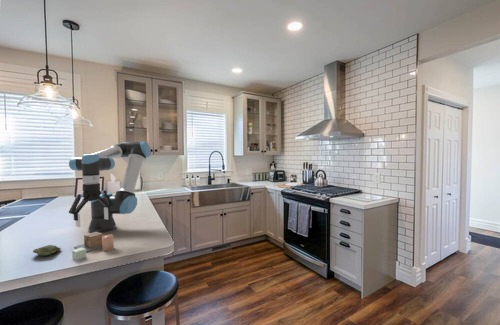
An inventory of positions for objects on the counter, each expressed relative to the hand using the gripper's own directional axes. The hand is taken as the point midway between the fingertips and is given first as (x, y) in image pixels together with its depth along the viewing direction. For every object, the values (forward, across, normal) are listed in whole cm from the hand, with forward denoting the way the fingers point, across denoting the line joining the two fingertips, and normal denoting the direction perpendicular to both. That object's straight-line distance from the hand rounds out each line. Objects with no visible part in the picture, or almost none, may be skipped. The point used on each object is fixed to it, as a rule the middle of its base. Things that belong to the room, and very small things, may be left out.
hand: (93, 222), depth 119 cm
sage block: (+13, -11, -9) cm, 19 cm away
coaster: (+13, -1, 0) cm, 13 cm away
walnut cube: (+12, -1, -1) cm, 12 cm away
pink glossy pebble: (+13, +1, -11) cm, 17 cm away
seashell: (+14, -17, +12) cm, 25 cm away
